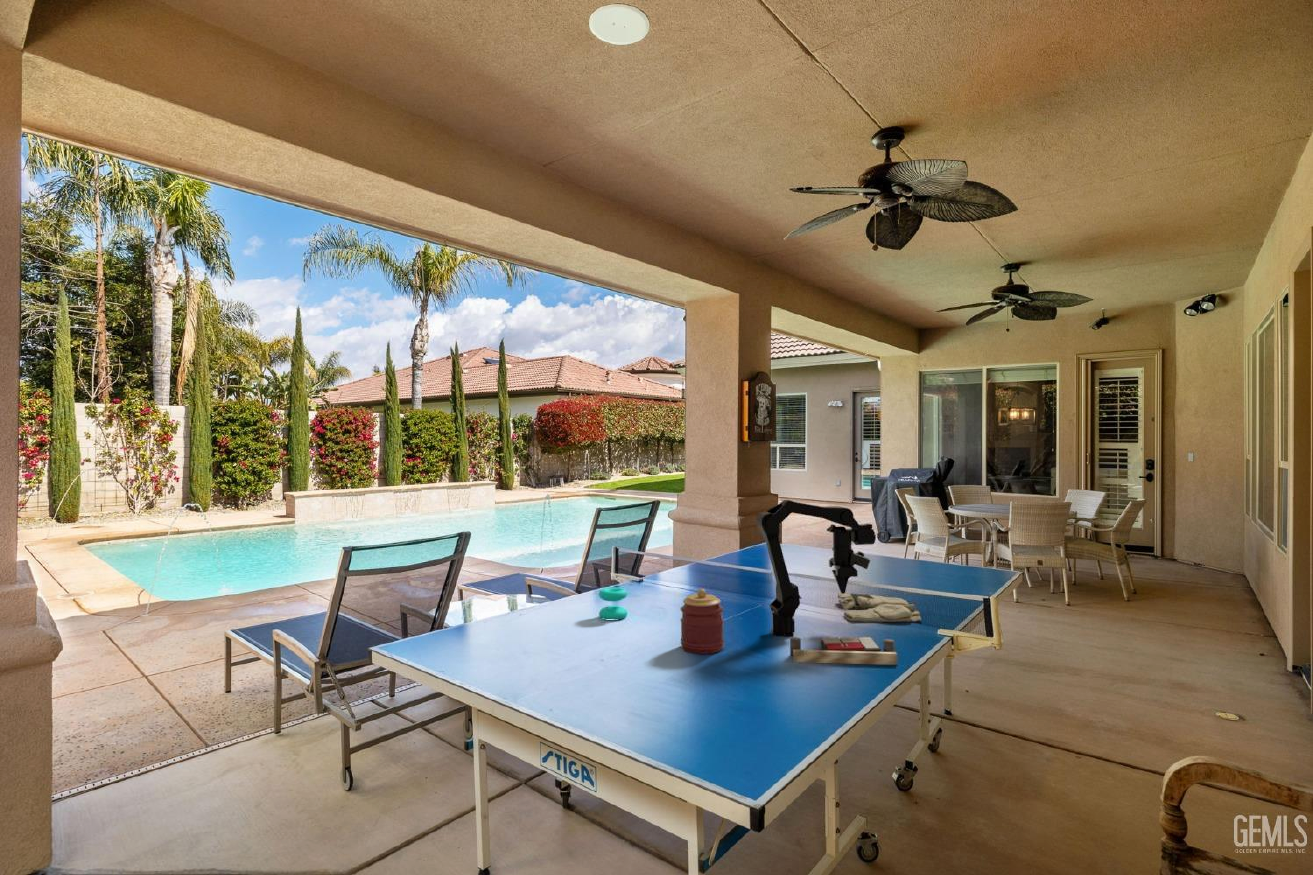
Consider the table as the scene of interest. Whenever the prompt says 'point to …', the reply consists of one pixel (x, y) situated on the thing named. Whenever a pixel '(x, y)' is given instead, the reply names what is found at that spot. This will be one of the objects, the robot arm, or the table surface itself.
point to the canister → (702, 624)
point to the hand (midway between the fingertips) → (842, 593)
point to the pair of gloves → (878, 608)
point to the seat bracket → (844, 654)
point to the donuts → (613, 595)
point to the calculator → (850, 644)
